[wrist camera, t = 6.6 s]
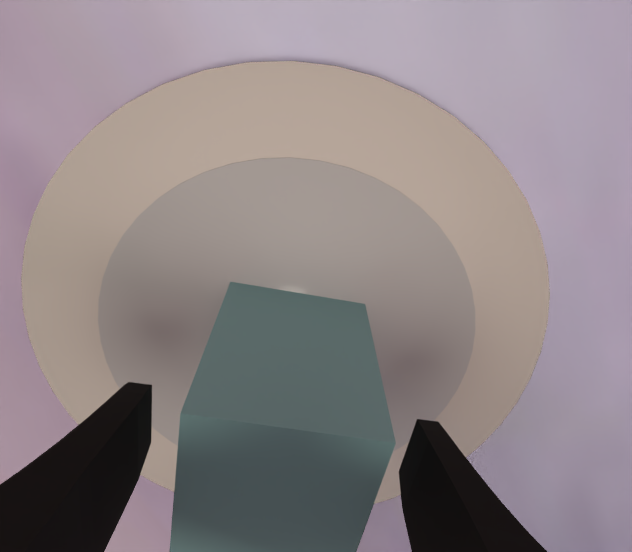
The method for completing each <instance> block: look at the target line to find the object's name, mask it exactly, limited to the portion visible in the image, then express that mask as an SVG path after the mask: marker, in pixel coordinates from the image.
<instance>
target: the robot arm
mask: <svg viewBox="0 0 632 552" xmlns="http://www.w3.org/2000/svg"><path fill="white" fill-rule="evenodd" d="M151 429H152V385H149V384H141V383H134V382H128V383H126V384H125V385H123V386H122V387H121V388H120V389H119V390H118V391H117V392H116V393H115V394H114V395H112V396H111V397H110V398H109V399H108V400H107V401H106V402H105V403H104V404H102V405H101V406H100V407H99V408H98V409H97V410H96V411H94V412H93V413H92V414H91V415H90V416H89V417H88V418H86V419H85V420H84V421H83V422H82V423H80V424H79V425H78V426H77V427H76V428H74V429H73V430H72V431H71V432H70V433H68V434H67V435H66V436H65V437H64V438H62V439H61V440H60V441H59V442H57V443H56V444H55V445H54V446H52V447H51V448H50V449H48V450H47V451H46V452H44V453H43V454H42V455H40V456H39V457H38V458H36V459H35V460H34V461H33V462H31V463H30V464H29V465H27V466H26V467H25V468H23V469H22V470H20V471H19V472H18V473H16V474H15V475H13V476H12V477H10V478H9V479H8V480H6V481H5V482H3V483H2V484H0V552H104V551H105V549H106V547H107V545H108V542H109V540H110V538H111V536H112V534H113V532H114V530H115V528H116V526H117V524H118V522H119V519H120V517H121V515H122V513H123V511H124V509H125V507H126V505H127V503H128V501H129V499H130V496H131V494H132V492H133V490H134V488H135V486H136V484H137V481H138V479H139V476H140V474H141V471H142V468H143V465H144V462H145V459H146V456H147V453H148V450H149V448H150V445H151ZM399 480H400V491H401V500H402V508H403V513H404V518H405V523H406V527H407V531H408V536H409V540H410V545H411V549H412V552H547V551H546V550H545V549H544V548H543V547H542V546H541V545H540V544H539V543H538V542H537V541H536V540H535V539H534V538H533V537H532V536H531V535H530V533H529V532H528V531H527V530H526V529H525V528H524V527H523V526H522V525H521V524H520V523H519V521H518V520H517V519H516V518H515V517H514V516H513V515H512V514H511V512H510V511H509V510H508V509H507V508H506V507H505V506H504V504H503V503H502V502H501V501H500V500H499V499H498V497H497V496H496V495H495V494H494V493H493V491H492V490H491V489H490V488H489V486H488V485H487V484H486V483H485V482H484V480H483V479H482V478H481V476H480V475H479V474H478V473H477V471H476V470H475V469H474V468H473V466H472V465H471V464H470V462H469V461H468V460H467V458H466V457H465V456H464V455H463V453H462V452H461V451H460V449H459V448H458V447H457V445H456V444H455V443H454V441H453V440H452V439H451V437H450V436H449V435H448V433H447V432H446V431H445V429H444V428H443V427H442V426H441V424H440V423H439V422H437V421H429V420H422V419H417V421H416V423H415V426H414V429H413V432H412V435H411V438H410V441H409V443H408V446H407V449H406V452H405V455H404V458H403V460H402V463H401V466H400V469H399Z"/></svg>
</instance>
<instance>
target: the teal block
mask: <svg viewBox="0 0 632 552" xmlns="http://www.w3.org/2000/svg"><path fill="white" fill-rule="evenodd" d="M395 444H396V441H395V437H394V432H393V428H392V423H391V419H390V414H389V410H388V405H387V401H386V396H385V392H384V387H383V383H382V378H381V373H380V369H379V364H378V360H377V355H376V351H375V346H374V342H373V337H372V333H371V328H370V324H369V319H368V315H367V310H366V306H365V304H363V303H357V302H351V301H345V300H339V299H333V298H327V297H321V296H314V295H308V294H302V293H296V292H290V291H284V290H278V289H272V288H266V287H260V286H254V285H248V284H242V283H236V282H230V284H229V287H228V289H227V292H226V294H225V297H224V300H223V302H222V305H221V308H220V310H219V313H218V315H217V318H216V321H215V323H214V326H213V329H212V331H211V334H210V337H209V339H208V342H207V344H206V347H205V350H204V352H203V355H202V358H201V360H200V363H199V366H198V368H197V371H196V373H195V376H194V379H193V381H192V384H191V387H190V389H189V392H188V395H187V397H186V400H185V402H184V405H183V408H182V410H181V413H180V424H179V437H178V450H177V463H176V476H175V489H174V502H173V515H172V528H171V541H170V552H356V551H357V548H358V545H359V543H360V540H361V537H362V534H363V532H364V529H365V526H366V524H367V521H368V518H369V515H370V513H371V510H372V507H373V504H374V502H375V499H376V496H377V493H378V491H379V488H380V485H381V483H382V480H383V477H384V474H385V472H386V469H387V466H388V463H389V461H390V458H391V455H392V453H393V450H394V447H395Z"/></svg>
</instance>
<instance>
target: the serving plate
mask: <svg viewBox="0 0 632 552" xmlns="http://www.w3.org/2000/svg"><path fill="white" fill-rule="evenodd" d="M21 282H22V300H23V311H24V316H25V321H26V325H27V330H28V335H29V339H30V342H31V344H32V347H33V350H34V353H35V355H36V358H37V361H38V363H39V366H40V368H41V370H42V372H43V374H44V375H45V377H46V379H47V381H48V383H49V385H50V387H51V389H52V391H53V392H54V394H55V395H56V396H57V398H58V399H59V401H60V402H61V403H62V405H63V406H64V408H65V409H66V410H67V412H68V413H69V415H70V416H71V417H72V418H73V419H74V420H75V421H76V422H77V424H78V425H79V424H80V423H82V422H83V421H84V420H85V419H86V418H88V417H89V416H90V415H91V414H92V413H93V412H94V411H96V410H97V409H98V408H99V407H100V406H101V405H102V404H104V403H105V402H106V401H107V400H108V399H109V398H110V397H111V396H112V395H114V394H115V393H116V392H117V391H118V390H119V389H120V388H121V387H122V386H123V385H125V384H126V383H128V382H134V383H141V384H149V385H152V429H151V445H150V448H149V450H148V453H147V456H146V459H145V462H144V465H143V468H142V471H141V474H140V475H142V476H143V477H145V478H147V479H149V480H150V481H152V482H154V483H156V484H158V485H160V486H162V487H165V488H167V489H169V490H171V491H174V489H175V476H176V463H177V450H178V437H179V424H180V413H181V410H182V408H183V405H184V402H185V400H186V397H187V395H188V392H189V389H190V387H191V384H192V381H193V379H194V376H195V373H196V371H197V368H198V366H199V363H200V360H201V358H202V355H203V352H204V350H205V347H206V344H207V342H208V339H209V337H210V334H211V331H212V329H213V326H214V323H215V321H216V318H217V315H218V313H219V310H220V308H221V305H222V302H223V300H224V297H225V294H226V292H227V289H228V287H229V284H230V282H236V283H242V284H248V285H254V286H260V287H266V288H272V289H278V290H284V291H290V292H296V293H302V294H308V295H314V296H321V297H327V298H333V299H339V300H345V301H351V302H357V303H363V304H365V306H366V310H367V315H368V319H369V324H370V328H371V333H372V337H373V342H374V346H375V351H376V355H377V360H378V364H379V369H380V373H381V378H382V383H383V387H384V392H385V396H386V401H387V405H388V410H389V414H390V419H391V423H392V428H393V432H394V437H395V441H396V444H395V447H394V450H393V453H392V455H391V458H390V461H389V463H388V466H387V469H386V472H385V474H384V477H383V480H382V483H381V485H380V488H379V491H378V493H377V496H376V499H375V502H374V504H375V503H379V502H382V501H385V500H389V499H392V498H394V497H397V496H399V495H401V491H400V480H399V469H400V466H401V463H402V460H403V458H404V455H405V452H406V449H407V446H408V443H409V441H410V438H411V435H412V432H413V429H414V426H415V423H416V421H417V419H422V420H429V421H437V422H439V423H440V424H441V426H442V427H443V428H444V429H445V431H446V432H447V433H448V435H449V436H450V437H451V439H452V440H453V441H454V443H455V444H456V445H457V447H458V448H459V449H460V451H461V452H462V453H463V455H464V456H465V457H467V456H468V455H470V454H471V453H472V452H473V451H474V450H476V449H477V448H478V447H479V446H480V445H482V444H483V443H484V442H485V440H486V439H487V438H488V437H489V436H490V435H491V434H492V433H493V432H494V431H495V430H496V429H497V428H498V427H499V426H500V425H501V423H502V422H503V421H504V419H505V418H506V417H507V415H508V414H509V413H510V411H511V410H512V409H513V407H514V406H515V404H516V403H517V402H518V400H519V398H520V396H521V394H522V393H523V391H524V389H525V387H526V385H527V384H528V382H529V380H530V378H531V376H532V373H533V371H534V368H535V365H536V363H537V360H538V358H539V355H540V353H541V349H542V345H543V340H544V336H545V332H546V327H547V322H548V309H549V297H550V292H549V278H548V265H547V260H546V256H545V251H544V247H543V243H542V239H541V235H540V231H539V229H538V226H537V224H536V221H535V219H534V217H533V214H532V212H531V209H530V207H529V205H528V202H527V200H526V198H525V197H524V195H523V194H522V192H521V190H520V189H519V187H518V185H517V184H516V182H515V181H514V179H513V177H512V176H511V174H510V173H509V171H508V170H507V168H506V167H505V166H504V165H503V164H502V163H501V161H500V160H499V159H498V158H497V157H496V156H495V154H494V153H493V152H492V151H491V150H490V149H489V147H488V146H487V145H486V144H485V143H484V142H483V141H482V140H481V139H480V138H479V137H477V136H476V135H475V134H474V133H473V132H472V131H470V130H469V129H468V128H467V127H466V126H464V125H463V124H462V123H461V122H460V121H459V120H457V119H456V118H455V117H454V116H452V115H451V114H449V113H448V112H446V111H444V110H443V109H441V108H440V107H438V106H436V105H435V104H433V103H432V102H430V101H428V100H427V99H425V98H423V97H422V96H420V95H419V94H416V93H414V92H412V91H409V90H407V89H405V88H402V87H400V86H398V85H395V84H393V83H391V82H388V81H386V80H384V79H381V78H379V77H376V76H372V75H368V74H364V73H361V72H357V71H353V70H349V69H345V68H342V67H338V66H331V65H323V64H314V63H305V62H297V61H276V62H247V63H241V64H236V65H230V66H224V67H219V68H213V69H208V70H203V71H200V72H197V73H194V74H191V75H188V76H185V77H183V78H180V79H177V80H174V81H171V82H168V83H165V84H162V85H161V86H159V87H157V88H155V89H153V90H151V91H149V92H147V93H145V94H143V95H141V96H139V97H138V98H136V99H134V100H132V101H130V102H128V103H126V104H125V105H124V106H122V107H121V108H120V109H118V110H117V111H115V112H114V113H113V114H111V115H110V116H109V117H107V118H106V119H105V120H103V121H102V122H101V123H99V124H98V125H97V126H95V127H94V128H93V129H92V130H91V131H90V132H89V133H88V134H87V135H86V136H85V137H84V138H83V140H82V141H81V142H80V143H79V144H78V145H77V146H76V147H75V148H74V149H73V150H72V151H71V152H70V153H69V154H68V155H67V157H66V158H65V160H64V161H63V163H62V164H61V166H60V167H59V168H58V170H57V171H56V173H55V174H54V176H53V177H52V179H51V180H50V181H49V183H48V185H47V187H46V189H45V191H44V193H43V195H42V197H41V200H40V202H39V204H38V206H37V208H36V210H35V212H34V215H33V218H32V222H31V225H30V229H29V233H28V236H27V240H26V243H25V248H24V257H23V267H22V276H21Z"/></svg>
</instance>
